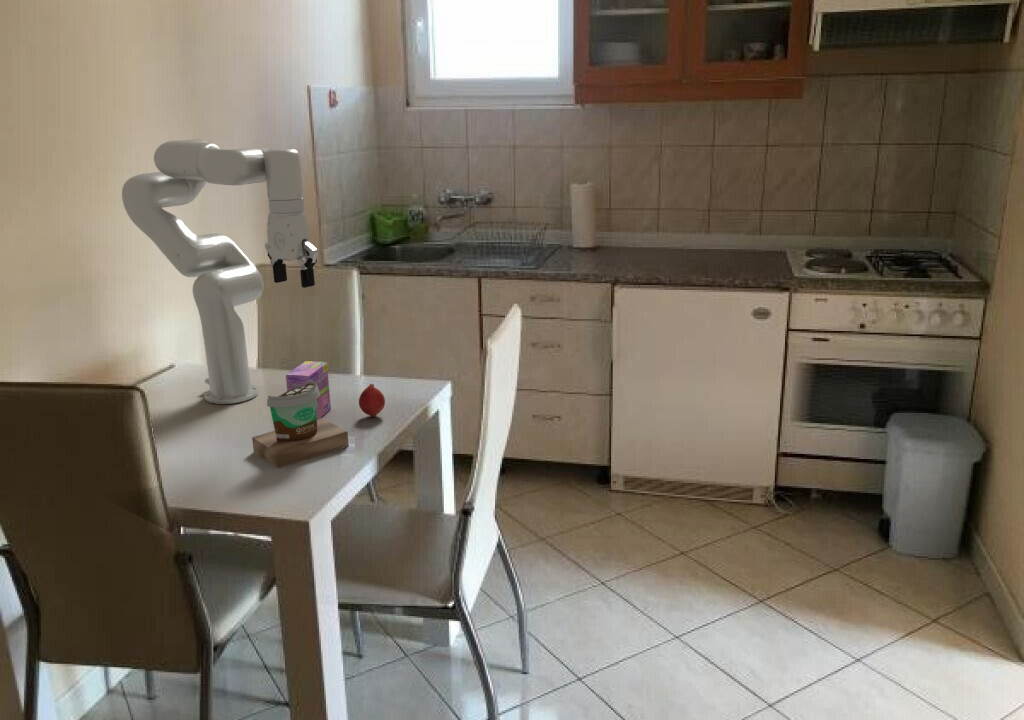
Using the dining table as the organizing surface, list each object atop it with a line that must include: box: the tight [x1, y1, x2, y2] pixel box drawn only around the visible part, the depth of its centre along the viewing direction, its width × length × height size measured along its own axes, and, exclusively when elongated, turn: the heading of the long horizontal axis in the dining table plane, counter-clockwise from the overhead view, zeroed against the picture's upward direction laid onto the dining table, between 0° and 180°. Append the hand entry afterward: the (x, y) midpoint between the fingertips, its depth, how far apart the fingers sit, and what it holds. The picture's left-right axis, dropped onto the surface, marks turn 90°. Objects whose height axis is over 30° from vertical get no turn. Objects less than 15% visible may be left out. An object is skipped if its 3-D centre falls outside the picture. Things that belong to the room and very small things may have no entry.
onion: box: [358, 383, 386, 418], centre depth 193 cm, size 6×6×8 cm
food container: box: [266, 380, 320, 442], centre depth 173 cm, size 12×6×10 cm, turn 150°
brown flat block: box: [251, 417, 349, 469], centre depth 176 cm, size 11×16×4 cm
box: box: [285, 360, 332, 419], centre depth 193 cm, size 10×6×12 cm, turn 168°
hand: (294, 284), depth 190 cm, fingers open, 9 cm apart
